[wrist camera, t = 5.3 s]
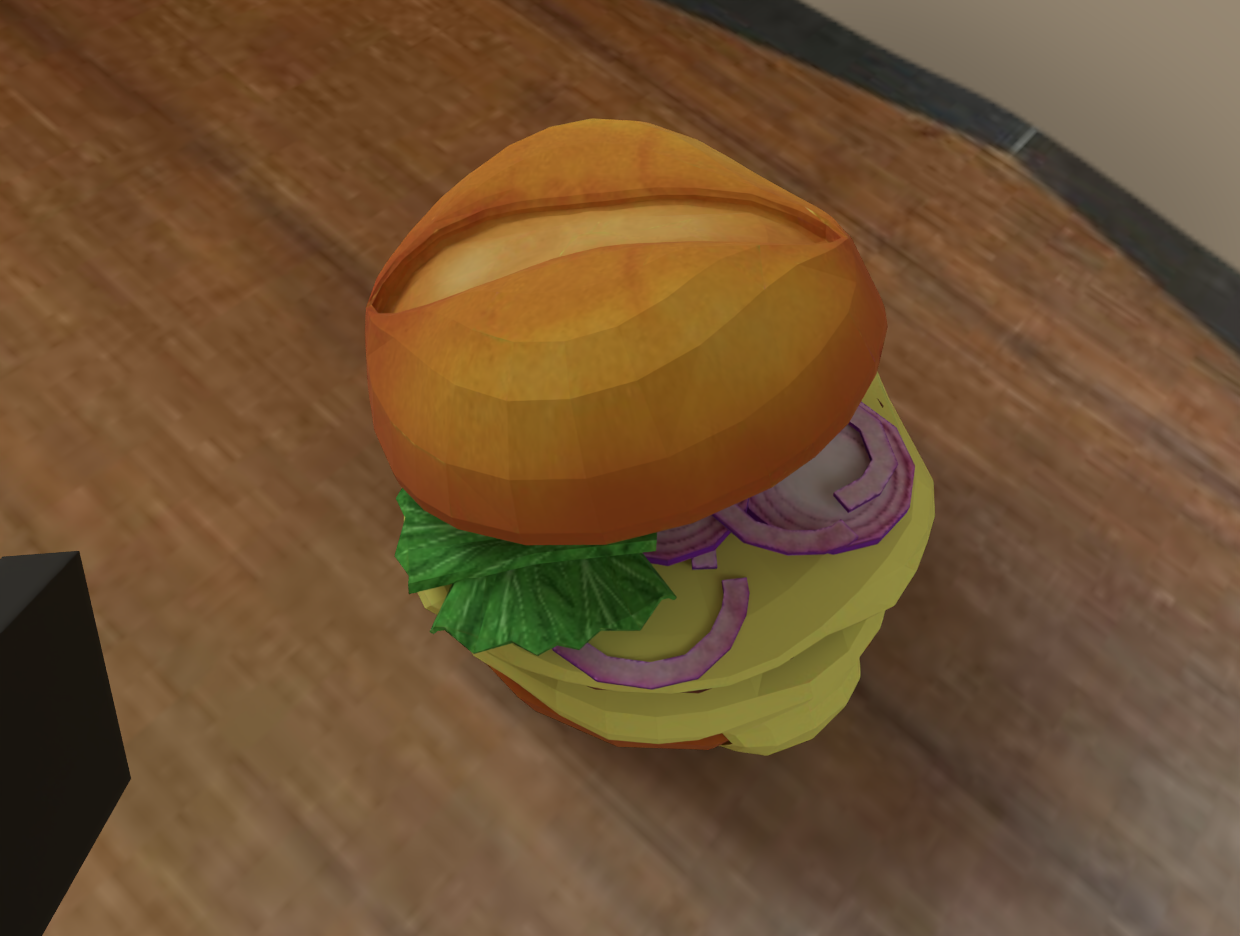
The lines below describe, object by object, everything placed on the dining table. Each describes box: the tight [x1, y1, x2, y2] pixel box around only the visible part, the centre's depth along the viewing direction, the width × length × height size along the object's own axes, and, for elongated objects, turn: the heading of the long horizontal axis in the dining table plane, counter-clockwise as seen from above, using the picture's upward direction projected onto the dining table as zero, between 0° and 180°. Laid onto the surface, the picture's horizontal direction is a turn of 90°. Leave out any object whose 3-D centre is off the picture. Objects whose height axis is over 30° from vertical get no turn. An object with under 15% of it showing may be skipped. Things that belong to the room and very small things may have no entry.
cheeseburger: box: [365, 119, 935, 756], centre depth 21 cm, size 10×11×10 cm
